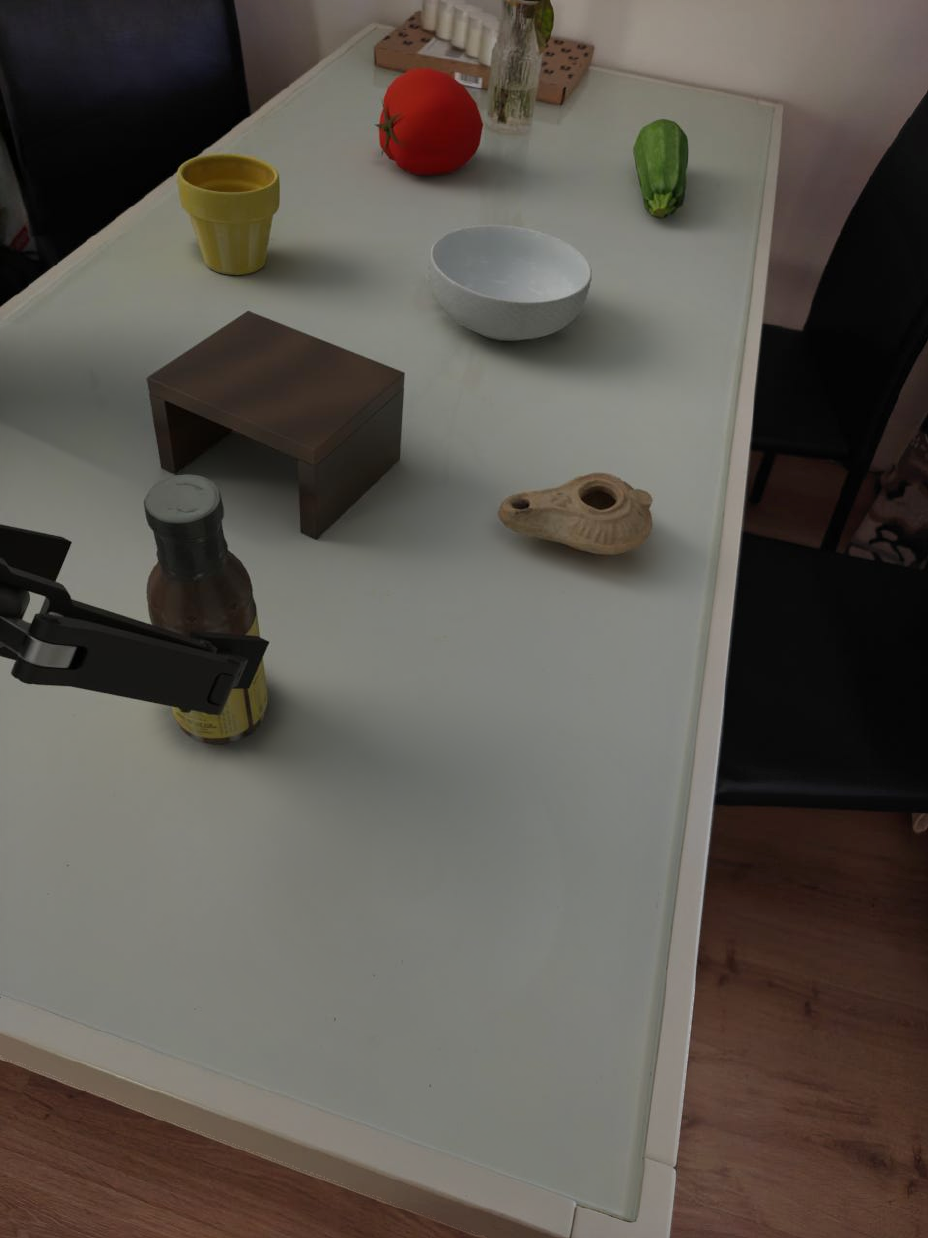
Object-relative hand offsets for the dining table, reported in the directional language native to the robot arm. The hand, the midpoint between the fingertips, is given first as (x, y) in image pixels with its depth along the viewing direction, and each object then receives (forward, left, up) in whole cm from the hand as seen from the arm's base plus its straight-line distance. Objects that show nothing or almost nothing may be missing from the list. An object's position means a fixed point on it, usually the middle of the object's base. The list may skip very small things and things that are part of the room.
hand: (152, 610), depth 54 cm
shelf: (-13, +29, -14) cm, 35 cm away
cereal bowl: (-9, +62, -15) cm, 65 cm away
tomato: (-35, +91, -15) cm, 99 cm away
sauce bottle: (0, +4, -15) cm, 15 cm away
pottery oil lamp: (+12, +35, -15) cm, 40 cm away
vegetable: (-7, +104, -15) cm, 105 cm away
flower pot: (-39, +55, -15) cm, 69 cm away
